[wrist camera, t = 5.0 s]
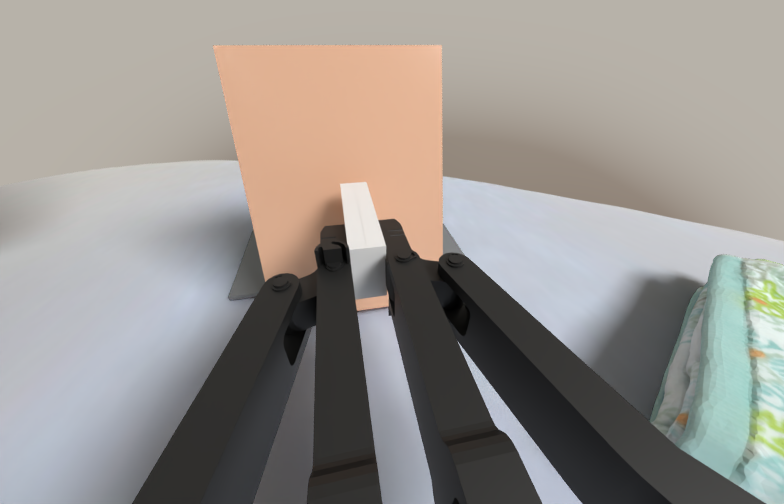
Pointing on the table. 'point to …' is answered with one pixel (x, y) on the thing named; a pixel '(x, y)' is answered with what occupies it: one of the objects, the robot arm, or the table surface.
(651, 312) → the table surface
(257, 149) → the terracotta slab
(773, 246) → the table surface
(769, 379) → the towel
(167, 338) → the table surface
